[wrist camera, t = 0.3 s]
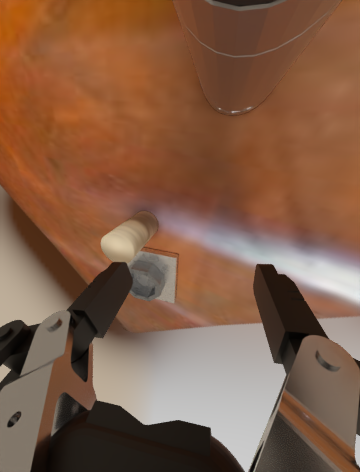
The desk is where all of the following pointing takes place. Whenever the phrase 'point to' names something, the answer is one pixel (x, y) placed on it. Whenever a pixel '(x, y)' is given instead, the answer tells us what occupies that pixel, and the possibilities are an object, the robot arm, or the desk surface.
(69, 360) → the robot arm
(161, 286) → the socket plate
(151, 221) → the cream rounded cylinder
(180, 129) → the desk surface
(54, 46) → the desk surface
